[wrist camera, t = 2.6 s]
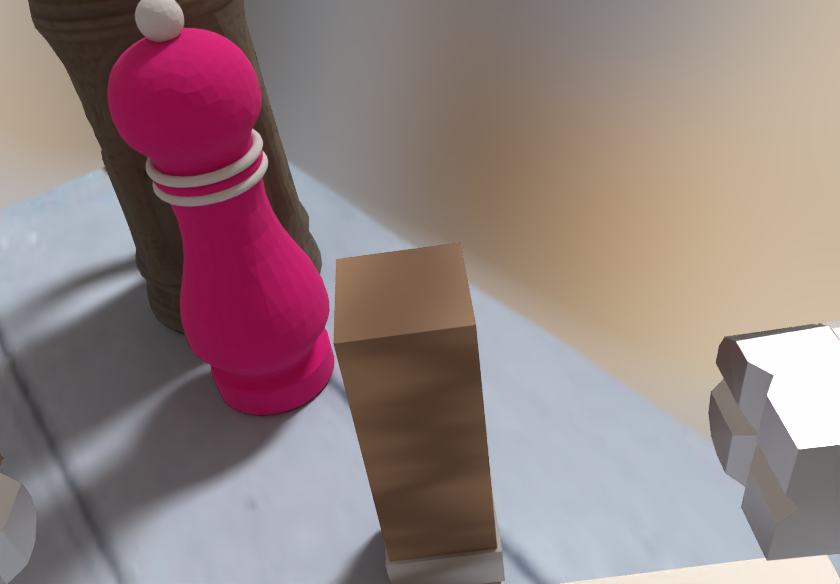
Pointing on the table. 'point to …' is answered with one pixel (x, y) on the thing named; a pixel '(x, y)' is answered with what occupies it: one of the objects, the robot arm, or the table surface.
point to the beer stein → (144, 211)
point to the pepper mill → (222, 212)
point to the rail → (419, 411)
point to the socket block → (738, 573)
